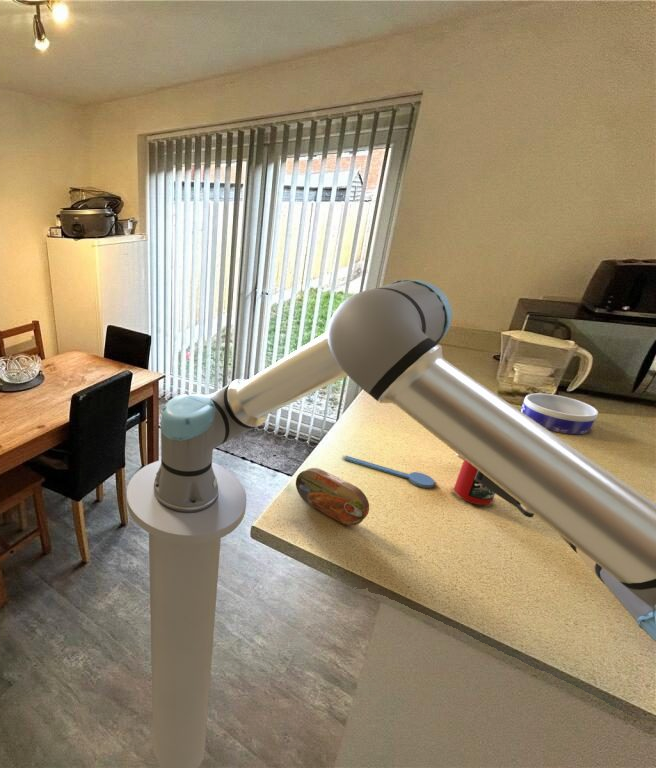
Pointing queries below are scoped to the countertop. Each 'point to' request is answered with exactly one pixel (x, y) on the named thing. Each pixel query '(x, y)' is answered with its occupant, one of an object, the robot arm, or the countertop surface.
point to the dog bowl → (559, 413)
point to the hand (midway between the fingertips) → (522, 457)
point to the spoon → (398, 473)
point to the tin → (332, 496)
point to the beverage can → (472, 486)
